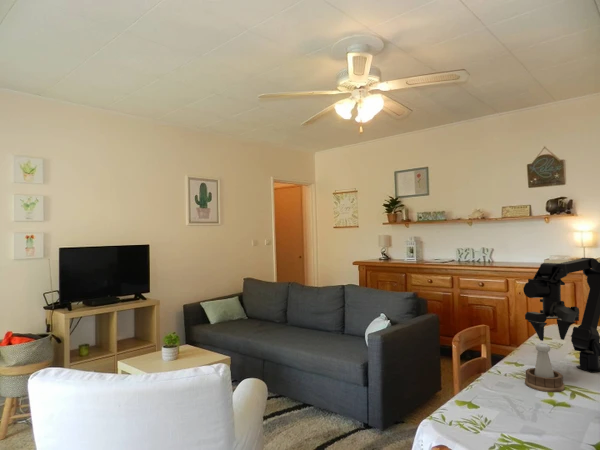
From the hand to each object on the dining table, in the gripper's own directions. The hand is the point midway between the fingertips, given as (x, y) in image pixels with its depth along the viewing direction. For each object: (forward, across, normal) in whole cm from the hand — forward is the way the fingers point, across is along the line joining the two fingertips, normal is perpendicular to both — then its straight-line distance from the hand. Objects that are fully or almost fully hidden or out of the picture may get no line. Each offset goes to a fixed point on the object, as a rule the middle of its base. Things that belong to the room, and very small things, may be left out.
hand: (552, 340), depth 145 cm
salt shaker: (+12, -10, -6) cm, 17 cm away
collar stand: (+14, -10, -6) cm, 18 cm away
